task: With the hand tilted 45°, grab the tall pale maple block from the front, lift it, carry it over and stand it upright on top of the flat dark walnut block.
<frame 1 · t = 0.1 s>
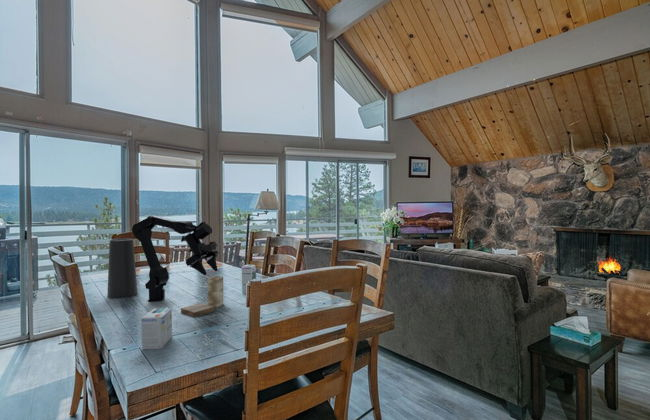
hand: (211, 272, 170), 15 cm above the table, tool tilted 35°, fingers open, 9 cm apart
light bulb box: (157, 343, 124), on the table
walnut block: (197, 313, 159), on the table
maple block: (215, 305, 169), on the table
syrup box: (249, 293, 191), on the table
vase: (122, 295, 188), on the table
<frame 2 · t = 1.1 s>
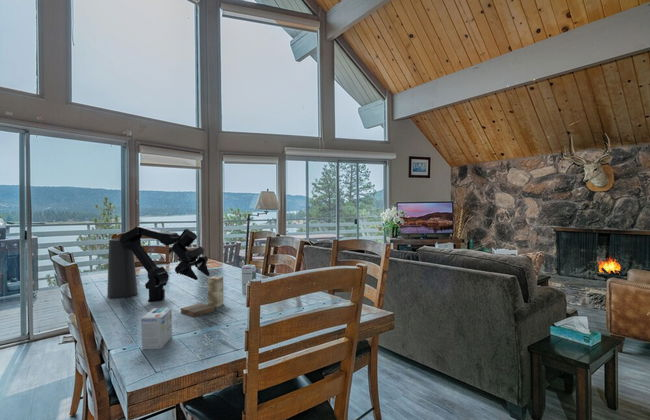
hand: (203, 277, 171), 13 cm above the table, tool tilted 45°, fingers open, 9 cm apart
vase: (122, 295, 188), on the table, touching arm
everything else where it was.
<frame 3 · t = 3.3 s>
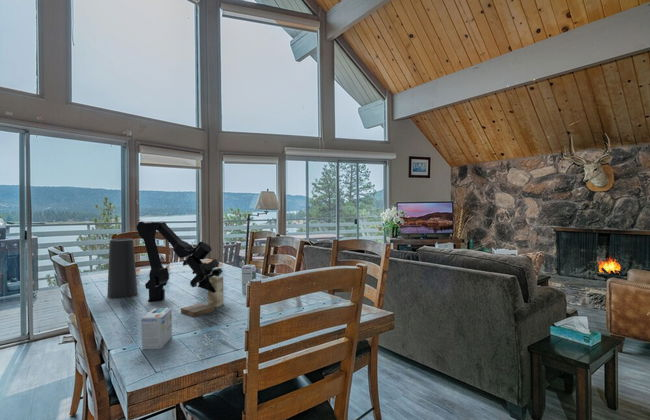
hand: (218, 290, 169), 7 cm above the table, tool tilted 45°, fingers closed on maple block, 5 cm apart
maple block: (215, 304, 169), on the table, touching gripper
vase: (122, 295, 188), on the table
everything else where it was.
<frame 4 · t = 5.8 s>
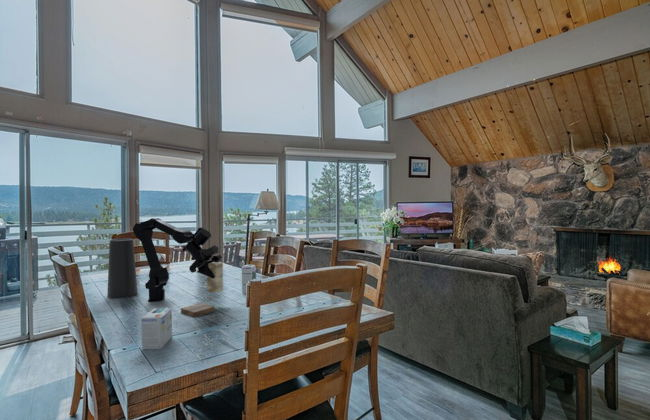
hand: (217, 276, 168), 13 cm above the table, tool tilted 45°, fingers closed on maple block, 5 cm apart
maple block: (215, 290, 169), point 7 cm above the table, touching gripper
everything else where it was.
when the fingers open (11 cm above the table, at t = 8.2 s): maple block drops 2 cm, point 2 cm above the table.
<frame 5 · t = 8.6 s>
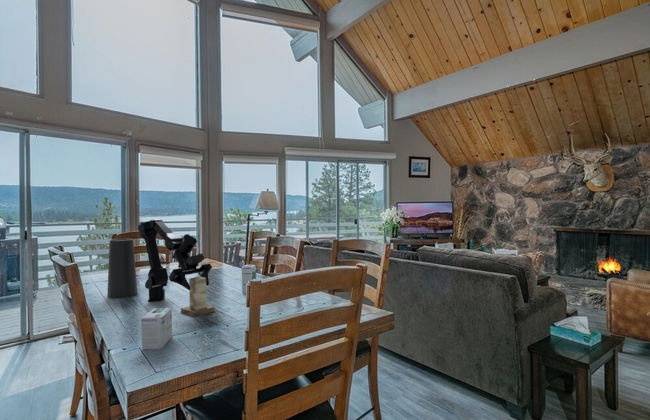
hand: (199, 287, 158), 11 cm above the table, tool tilted 45°, fingers open, 9 cm apart
maple block: (198, 307, 159), point 2 cm above the table
everything else where it was.
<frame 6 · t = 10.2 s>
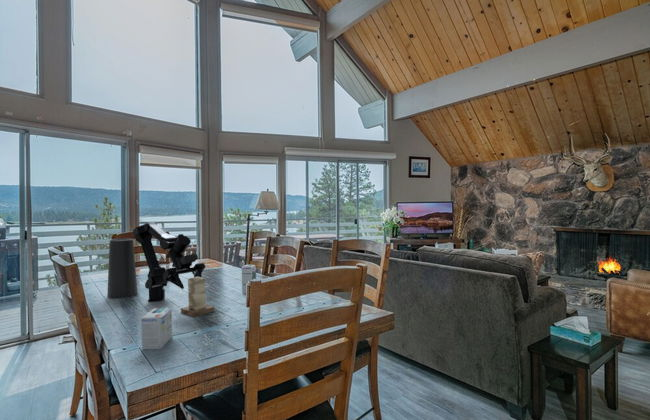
hand: (192, 286, 161), 11 cm above the table, tool tilted 45°, fingers open, 9 cm apart
walnut block: (197, 313, 159), on the table, touching maple block
maple block: (197, 307, 159), point 2 cm above the table, touching walnut block
everything else where it was.
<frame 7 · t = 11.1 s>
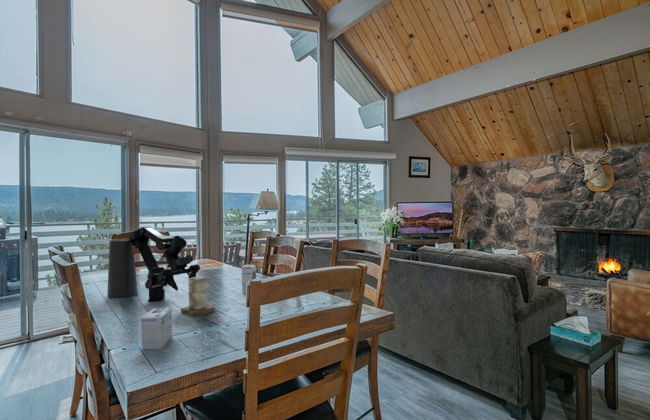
hand: (186, 288, 163), 9 cm above the table, tool tilted 40°, fingers open, 9 cm apart
walnut block: (197, 313, 159), on the table
maple block: (197, 307, 159), point 2 cm above the table
vase: (122, 295, 188), on the table, touching arm
everything else where it was.
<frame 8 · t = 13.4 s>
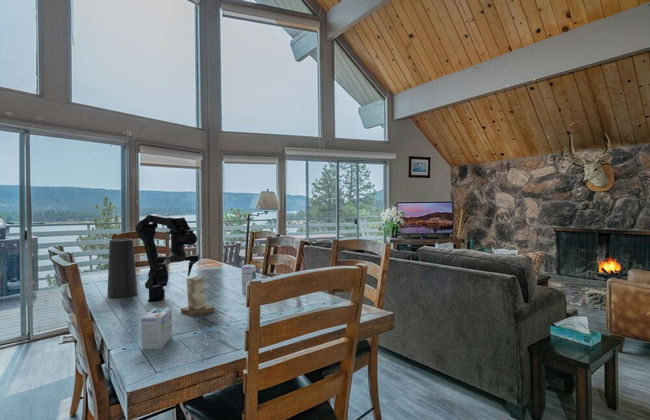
hand: (178, 277, 170), 13 cm above the table, tool pointing down, fingers open, 9 cm apart
vase: (122, 295, 188), on the table
at the end: maple block 0.2 cm off-centre on the walnut block, point 2.7 cm above the walnut block's base; maple block tilted 3°; the gripper is holding nothing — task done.
